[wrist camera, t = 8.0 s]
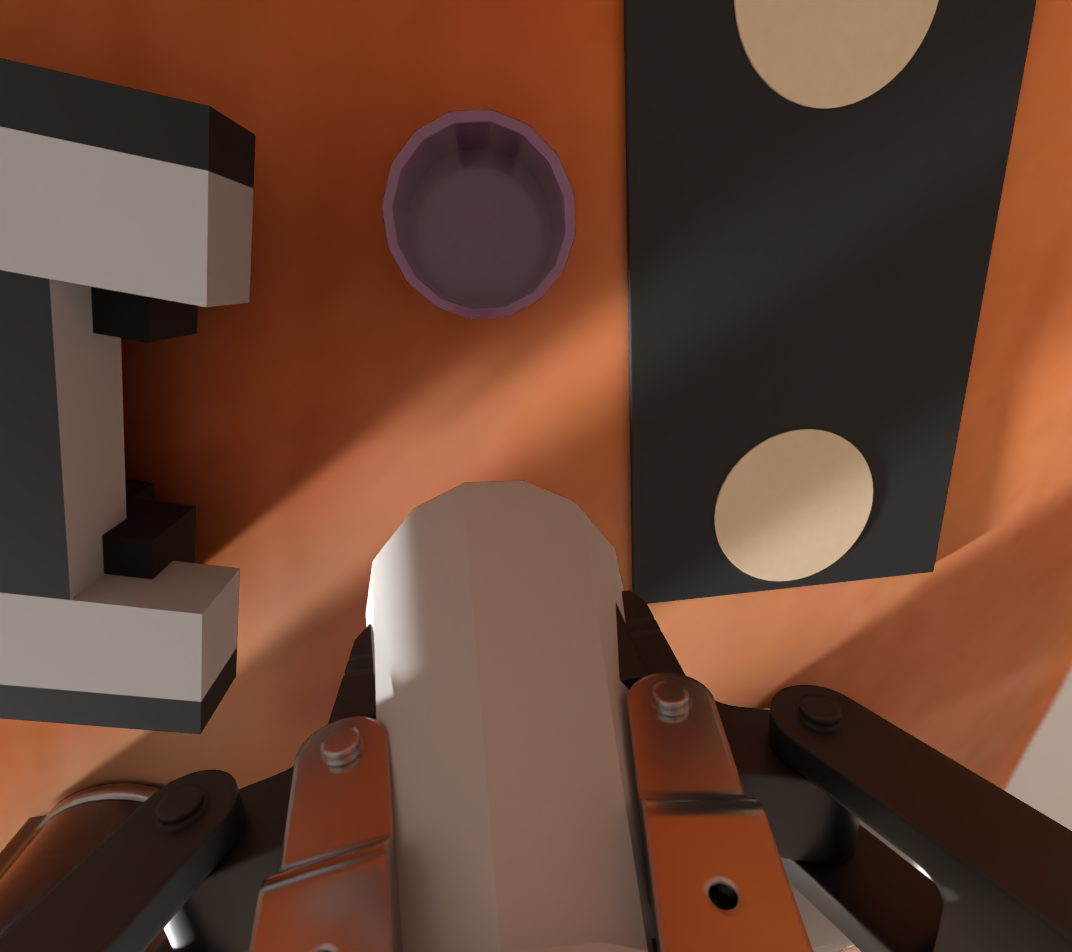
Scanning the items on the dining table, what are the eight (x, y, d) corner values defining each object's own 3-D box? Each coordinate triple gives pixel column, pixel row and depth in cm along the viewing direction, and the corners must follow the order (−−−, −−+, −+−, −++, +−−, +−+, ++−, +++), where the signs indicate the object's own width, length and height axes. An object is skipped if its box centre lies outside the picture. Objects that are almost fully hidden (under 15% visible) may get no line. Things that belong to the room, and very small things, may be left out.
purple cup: (412, 316, 24) (398, 325, 20) (389, 146, 22) (368, 115, 18) (562, 305, 25) (579, 311, 20) (553, 137, 22) (570, 104, 18)
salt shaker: (512, 682, 17) (626, 1788, 4) (339, 581, 15) (-227, 1882, 3) (644, 531, 16) (1279, 1455, 3) (472, 405, 14) (486, 1290, 2)
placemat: (632, 601, 30) (634, 606, 29) (620, -163, 20) (624, -174, 19) (927, 568, 31) (935, 573, 30) (1059, -173, 21) (1072, -184, 20)
